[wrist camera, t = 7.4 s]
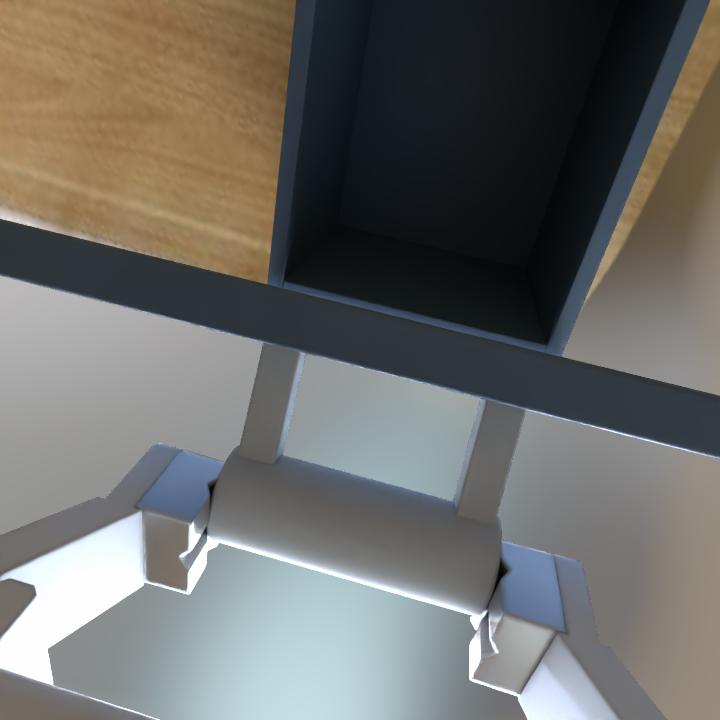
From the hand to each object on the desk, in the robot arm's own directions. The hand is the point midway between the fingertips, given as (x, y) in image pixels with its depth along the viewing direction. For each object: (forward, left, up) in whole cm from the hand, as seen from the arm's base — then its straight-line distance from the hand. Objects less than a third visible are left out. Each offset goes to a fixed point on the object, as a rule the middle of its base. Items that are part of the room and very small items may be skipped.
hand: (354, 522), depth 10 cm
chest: (0, -6, -29) cm, 30 cm away
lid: (0, -1, -8) cm, 8 cm away
